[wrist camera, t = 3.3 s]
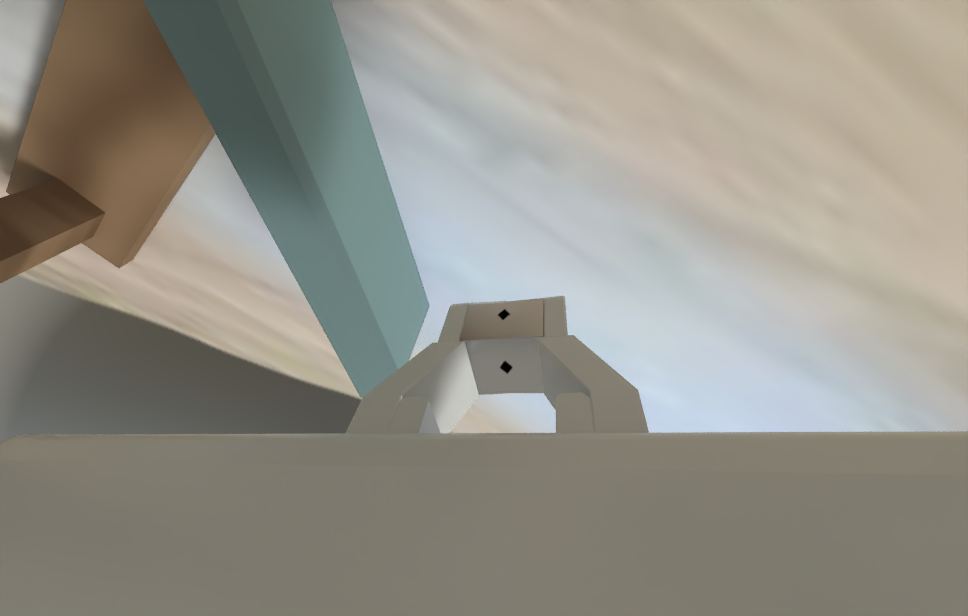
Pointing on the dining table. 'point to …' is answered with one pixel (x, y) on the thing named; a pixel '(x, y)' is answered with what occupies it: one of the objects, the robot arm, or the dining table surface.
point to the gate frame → (101, 140)
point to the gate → (307, 165)
